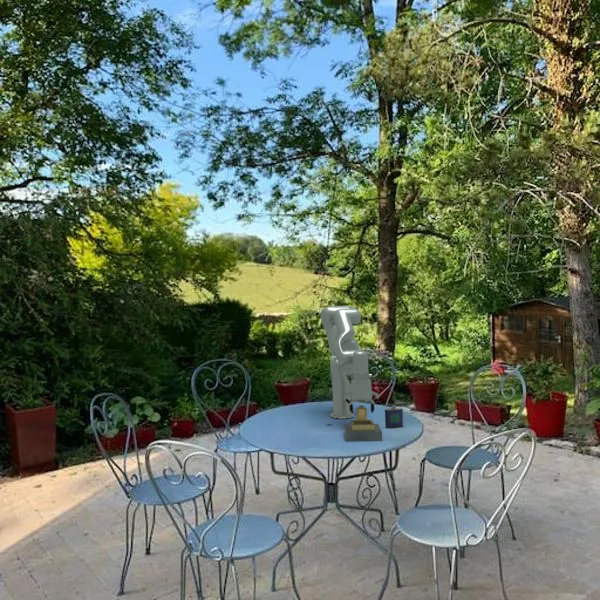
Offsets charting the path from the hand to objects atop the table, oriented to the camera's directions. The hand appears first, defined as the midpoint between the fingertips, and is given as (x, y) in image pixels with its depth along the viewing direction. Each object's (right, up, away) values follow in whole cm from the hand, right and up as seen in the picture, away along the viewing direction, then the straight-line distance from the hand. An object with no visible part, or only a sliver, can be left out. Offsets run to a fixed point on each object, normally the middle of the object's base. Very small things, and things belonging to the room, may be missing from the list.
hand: (362, 412), depth 256 cm
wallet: (+16, -8, +2) cm, 18 cm away
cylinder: (0, -8, +1) cm, 8 cm away
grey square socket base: (-1, -8, -13) cm, 16 cm away
